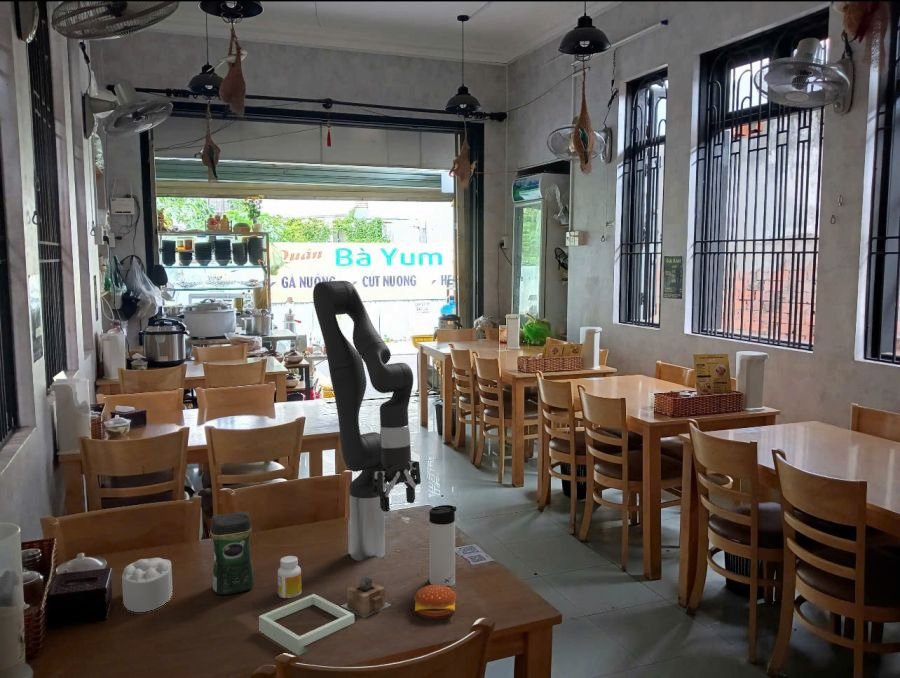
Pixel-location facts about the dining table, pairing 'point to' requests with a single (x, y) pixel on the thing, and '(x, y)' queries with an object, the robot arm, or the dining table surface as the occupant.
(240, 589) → the coffee jar
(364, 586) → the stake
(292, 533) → the dining table surface
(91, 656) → the dining table surface
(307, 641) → the tray
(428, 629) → the dining table surface
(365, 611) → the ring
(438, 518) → the travel mug
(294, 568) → the supplement bottle
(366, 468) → the robot arm
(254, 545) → the dining table surface
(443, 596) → the hamburger
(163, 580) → the lumpy-topped squat cylinder
